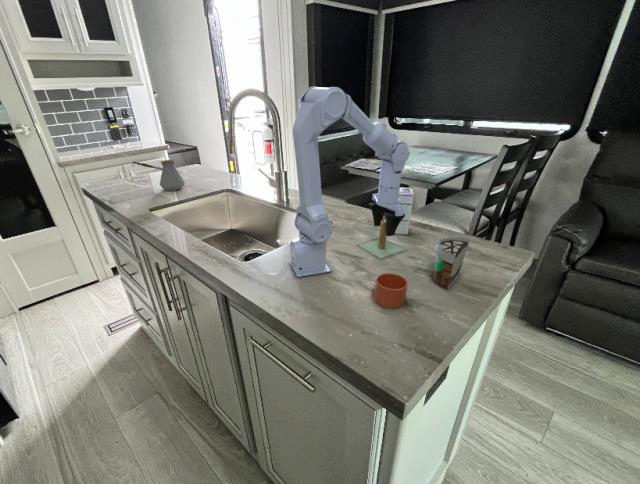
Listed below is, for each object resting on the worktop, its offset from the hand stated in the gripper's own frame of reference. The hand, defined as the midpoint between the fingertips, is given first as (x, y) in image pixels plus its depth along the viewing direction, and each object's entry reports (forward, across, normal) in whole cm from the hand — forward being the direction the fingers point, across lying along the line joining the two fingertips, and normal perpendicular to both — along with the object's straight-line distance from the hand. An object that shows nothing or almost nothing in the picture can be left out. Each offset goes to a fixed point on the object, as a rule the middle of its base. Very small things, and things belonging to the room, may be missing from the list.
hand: (383, 230), depth 97 cm
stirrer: (+6, 0, 0) cm, 6 cm away
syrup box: (+6, +10, -12) cm, 17 cm away
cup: (+6, -24, +11) cm, 28 cm away
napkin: (+6, 0, 0) cm, 6 cm away
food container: (+6, -20, -7) cm, 22 cm away
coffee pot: (+6, +85, +70) cm, 110 cm away
